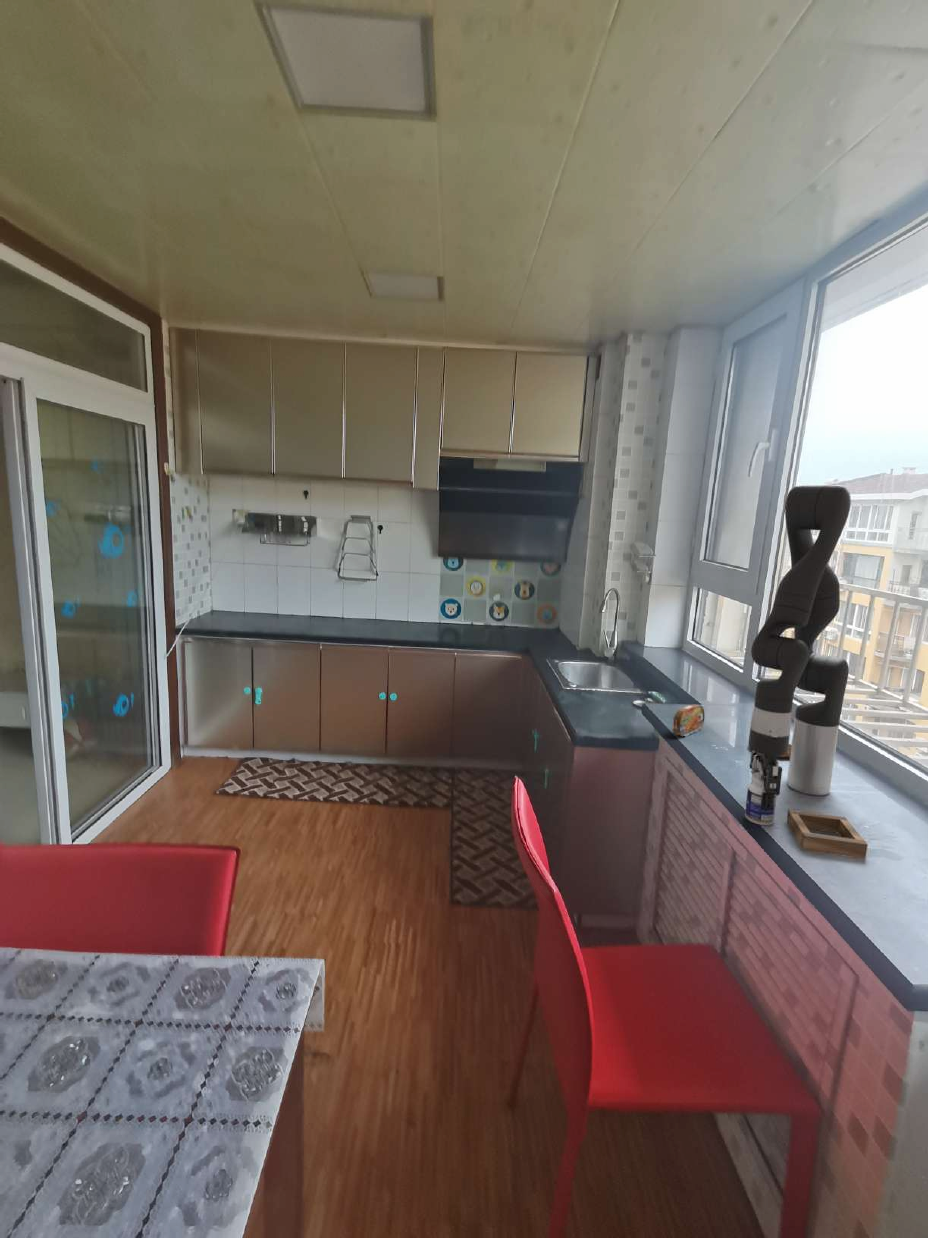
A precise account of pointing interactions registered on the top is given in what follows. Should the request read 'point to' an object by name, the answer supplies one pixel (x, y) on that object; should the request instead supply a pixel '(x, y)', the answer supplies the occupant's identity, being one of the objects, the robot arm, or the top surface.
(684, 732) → the tin
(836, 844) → the socket block
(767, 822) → the pill bottle
